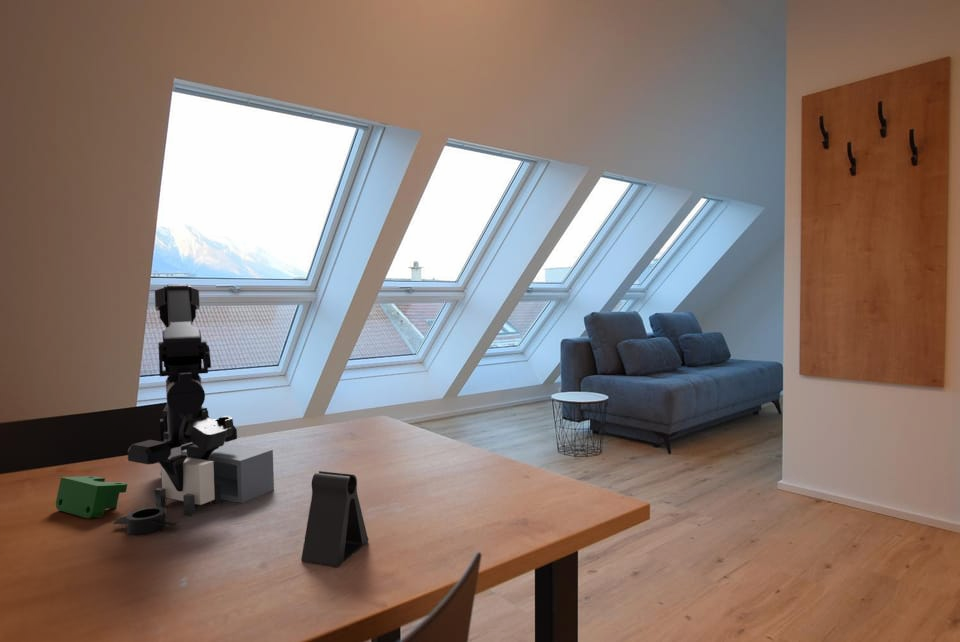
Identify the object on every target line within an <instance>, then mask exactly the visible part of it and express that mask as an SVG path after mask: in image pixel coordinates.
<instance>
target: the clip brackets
mask: <svg viewBox="0 0 960 642" xmlns="http://www.w3.org/2000/svg"><path fill="white" fill-rule="evenodd" d="M214 494H215V499H214V500H212V501H210V505H212V506H218V505H221V504H222V499H221V491H220V485H218V484H214ZM166 500H167V498H166V493H165V489H164V488H162V487H157V488H154V501H155V502H154V504H155V506H154V507H163V508H165V509H166V508H167V501H166ZM183 500H184V501H183V515H184V516H187V517H192V516H193V515H196V512H195V511H196V510H195V509H196V507H195V505H196V504H195V503H194V495H193V494H185V495H183Z"/></svg>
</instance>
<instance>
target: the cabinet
mask: <svg viewBox="0 0 960 642" xmlns="http://www.w3.org/2000/svg"><path fill="white" fill-rule="evenodd" d="M181 455H185V456H187V451H186V450H183V451H181ZM207 461H213V466H214V484H218V485H220V491H221V500H224V501H229V502H235V503H238V504H239V503H240V504H243V503H246V502H248V501H251V500H252V499H253V500H254V499H255V498H258V497H260V496H262V495H266V494H267V493H270V492H272V491H274V490H275V482H274V481H275V480H274V477H275V476H274V474H275V473H274V450H273V449H269V448H265V447H264V448H263V447H256V446H251V445H250V446H249V445H243V444H235V443H228V442H224V445H223V446H219V448H218V449H216V450H214V451H213V452H212V453H211V454H210V455H209V457H208V459H207Z"/></svg>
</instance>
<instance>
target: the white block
mask: <svg viewBox="0 0 960 642" xmlns="http://www.w3.org/2000/svg"><path fill="white" fill-rule="evenodd" d="M160 466H161V465H160ZM160 469H161V471H162V473H161V488H164V489H165V493H166V499H171V500H176V501H181V502H184V500H183V495H185V494H193V495H194V503H195V505H200V506H202V505H204V504H207V503H209V502H211V501H212V500H214V499H215V494H214V466H213V461H207V460H202V459H196V458H190V457H187V458H186V459H185V461H184V462H183V491H181V492H180V491H177V490H176V488H175V486H174V485H173V483H172V481H171V480H170V478H169V476H168V475H167V473H166V471H165V470H164V468H163V467H162V466H161V467H160ZM161 471H160V472H161Z"/></svg>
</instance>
